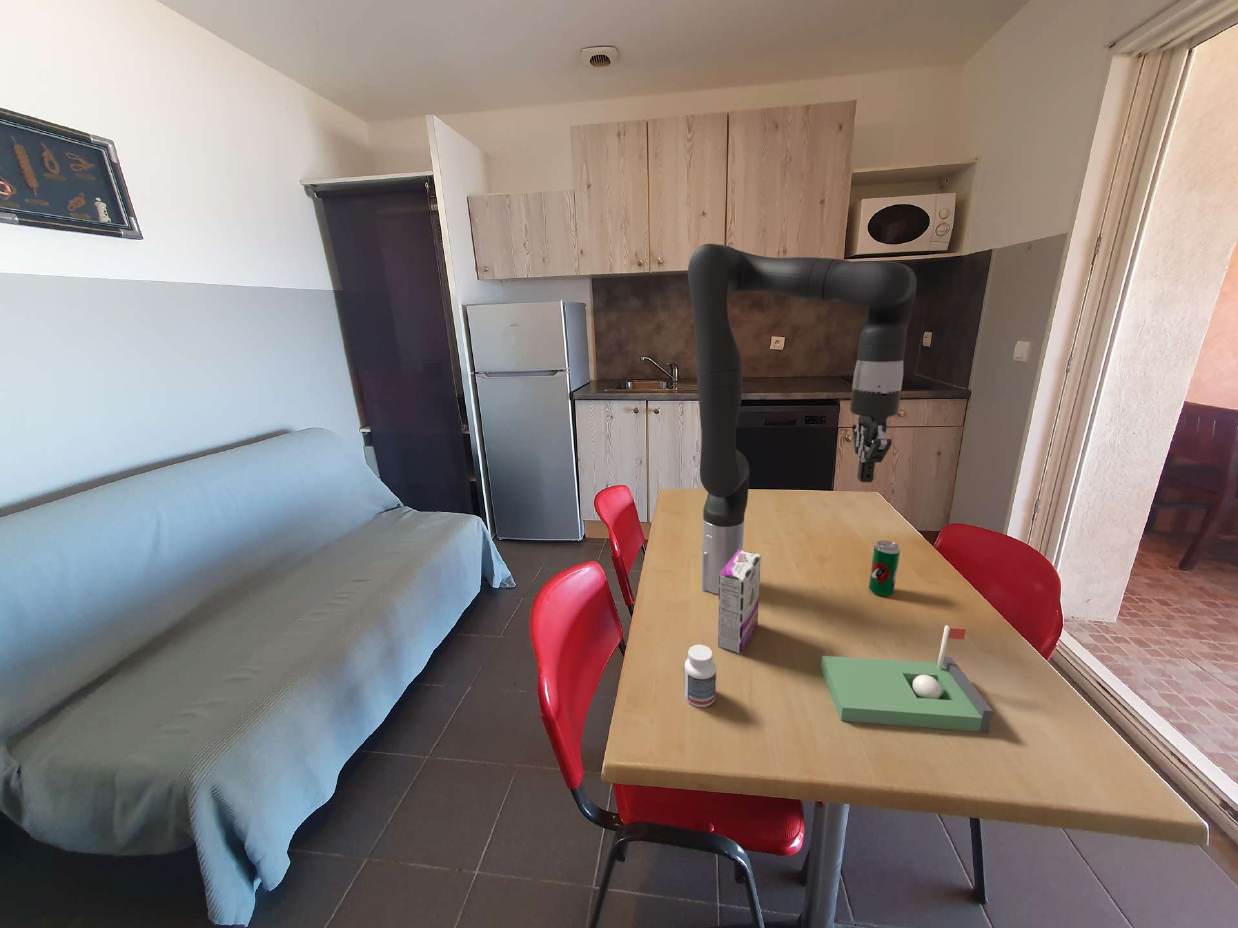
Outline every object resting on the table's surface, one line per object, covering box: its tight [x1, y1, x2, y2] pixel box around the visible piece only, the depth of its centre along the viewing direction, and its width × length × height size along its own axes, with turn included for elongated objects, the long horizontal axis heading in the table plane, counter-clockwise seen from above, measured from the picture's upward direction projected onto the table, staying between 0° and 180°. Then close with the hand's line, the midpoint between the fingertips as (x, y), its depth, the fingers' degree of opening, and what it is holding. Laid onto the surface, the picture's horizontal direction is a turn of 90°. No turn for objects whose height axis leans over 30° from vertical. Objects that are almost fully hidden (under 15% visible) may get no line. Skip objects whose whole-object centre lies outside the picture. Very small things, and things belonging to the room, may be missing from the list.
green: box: [820, 624, 994, 733], centre depth 78 cm, size 22×12×11 cm, turn 82°
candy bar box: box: [717, 549, 762, 655], centre depth 94 cm, size 11×5×16 cm, turn 148°
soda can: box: [868, 540, 901, 598], centre depth 108 cm, size 5×5×12 cm
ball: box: [912, 675, 941, 699], centre depth 78 cm, size 4×4×4 cm
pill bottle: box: [683, 644, 717, 708], centre depth 80 cm, size 5×5×9 cm
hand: (864, 480), depth 88 cm, fingers closed
